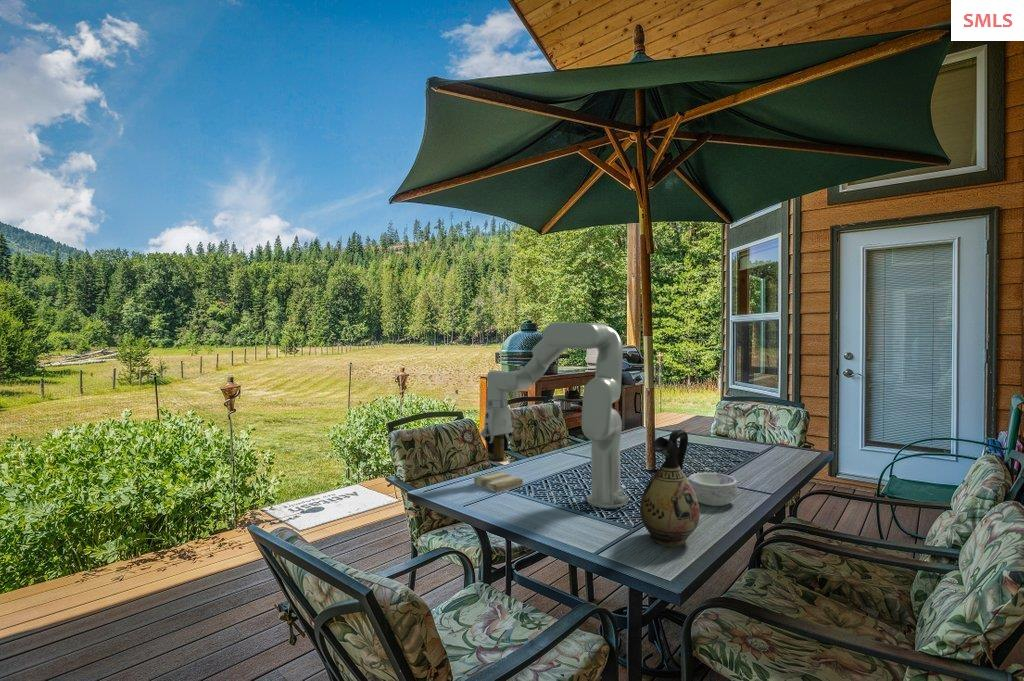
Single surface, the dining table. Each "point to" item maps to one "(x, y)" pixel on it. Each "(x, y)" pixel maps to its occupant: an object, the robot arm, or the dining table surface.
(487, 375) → the robot arm
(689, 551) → the dining table surface
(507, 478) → the board
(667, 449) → the ceramic jug
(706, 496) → the white marble bowl
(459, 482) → the dining table surface
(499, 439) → the condiment
